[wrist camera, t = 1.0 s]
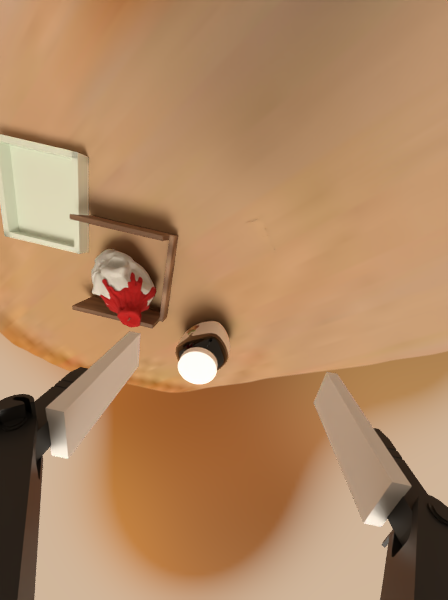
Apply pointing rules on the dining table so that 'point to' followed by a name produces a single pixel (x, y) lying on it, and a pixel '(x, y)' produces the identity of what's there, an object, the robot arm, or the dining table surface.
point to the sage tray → (44, 194)
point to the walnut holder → (150, 316)
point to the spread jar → (202, 352)
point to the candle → (122, 286)
